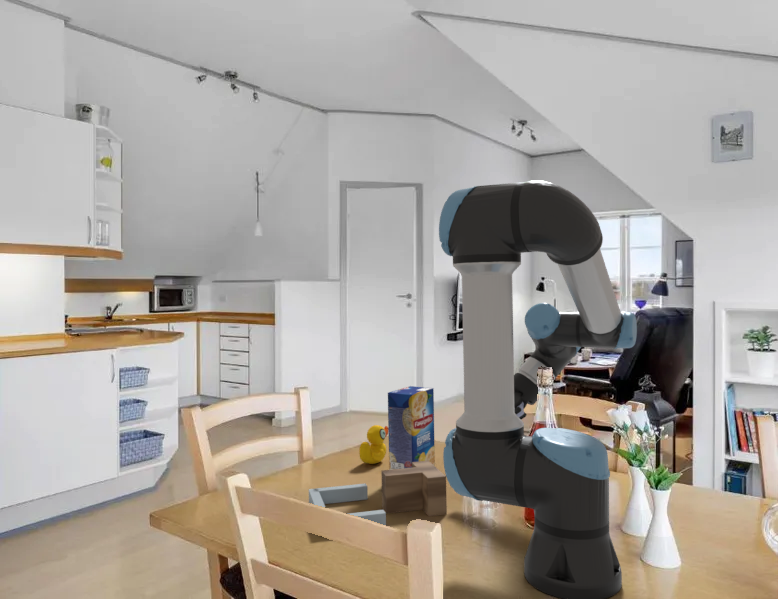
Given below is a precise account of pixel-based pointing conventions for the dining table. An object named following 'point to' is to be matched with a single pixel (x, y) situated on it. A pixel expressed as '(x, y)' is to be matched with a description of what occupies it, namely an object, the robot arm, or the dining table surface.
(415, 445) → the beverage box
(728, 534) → the dining table surface
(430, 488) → the t block
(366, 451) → the duckling
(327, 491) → the fence
